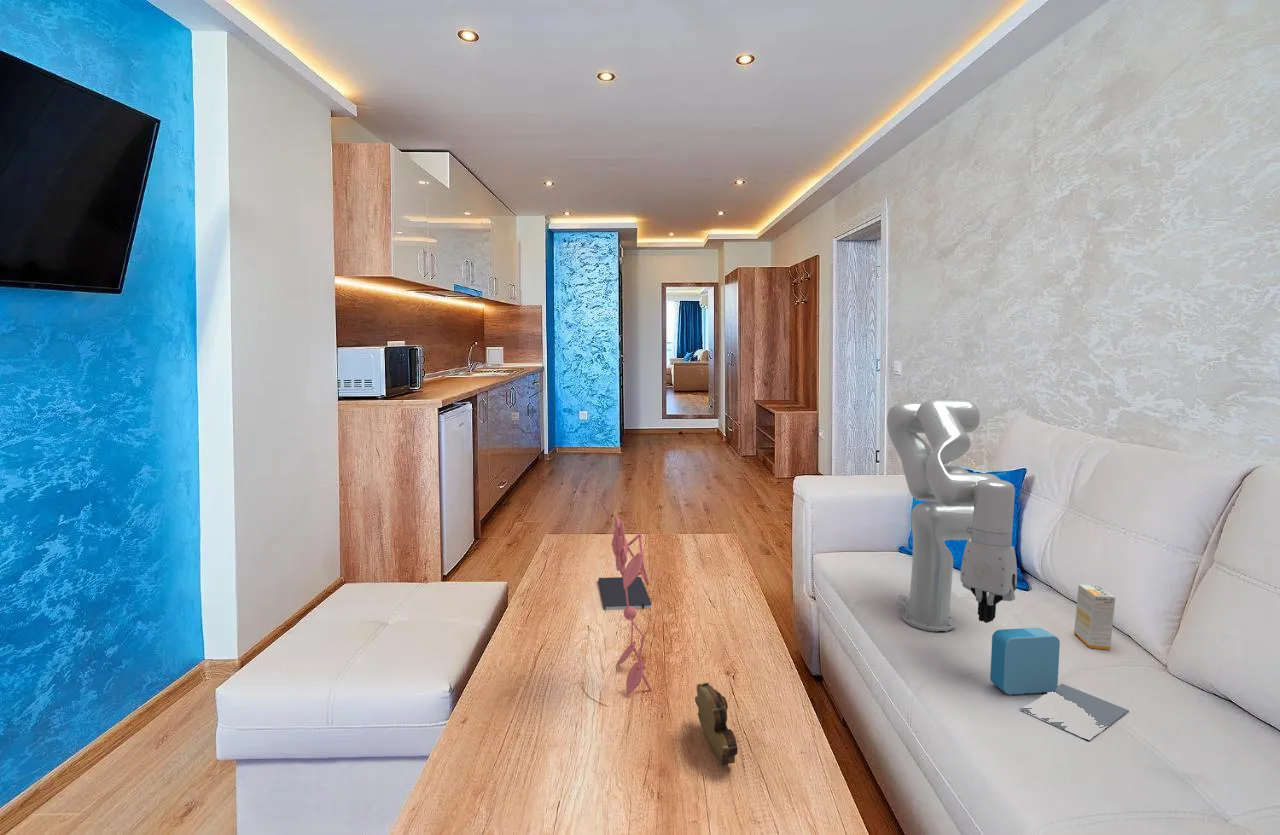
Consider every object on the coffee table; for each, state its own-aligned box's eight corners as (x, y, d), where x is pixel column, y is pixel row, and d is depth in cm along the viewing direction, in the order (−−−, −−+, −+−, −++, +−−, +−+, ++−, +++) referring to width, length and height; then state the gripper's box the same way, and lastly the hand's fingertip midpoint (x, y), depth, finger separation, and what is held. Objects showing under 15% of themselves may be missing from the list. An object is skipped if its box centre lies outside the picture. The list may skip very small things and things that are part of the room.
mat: (1019, 710, 126) (1019, 708, 126) (1061, 684, 136) (1061, 683, 136) (1088, 741, 116) (1088, 740, 116) (1128, 711, 126) (1129, 710, 126)
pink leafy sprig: (643, 649, 148) (643, 500, 144) (662, 713, 123) (662, 534, 119) (576, 654, 146) (574, 503, 142) (581, 719, 121) (579, 538, 117)
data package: (1041, 681, 137) (1044, 626, 136) (1057, 692, 132) (1060, 635, 131) (989, 684, 135) (991, 629, 135) (1004, 695, 131) (1006, 638, 130)
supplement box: (1111, 650, 152) (1117, 597, 151) (1088, 648, 153) (1094, 595, 152) (1094, 635, 160) (1099, 584, 159) (1072, 633, 161) (1077, 583, 160)
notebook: (598, 582, 191) (604, 612, 170) (598, 577, 191) (604, 606, 170) (640, 581, 193) (652, 610, 172) (640, 576, 193) (652, 604, 172)
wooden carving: (747, 773, 106) (749, 716, 105) (721, 778, 104) (723, 720, 103) (708, 718, 121) (710, 667, 120) (686, 721, 120) (687, 670, 119)
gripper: (948, 531, 142) (943, 612, 143) (1019, 548, 130) (1013, 636, 131) (966, 527, 146) (961, 606, 148) (1037, 543, 134) (1031, 628, 135)
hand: (986, 620), depth 139 cm, fingers closed
